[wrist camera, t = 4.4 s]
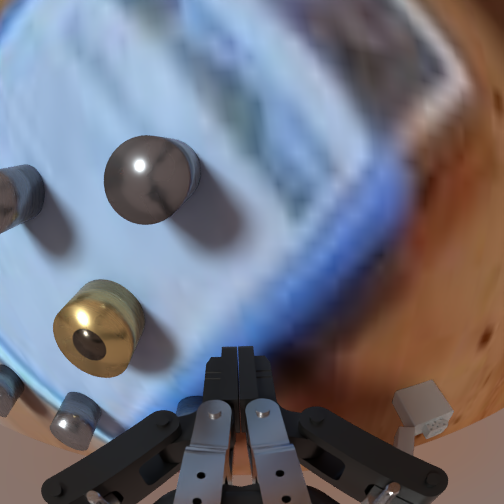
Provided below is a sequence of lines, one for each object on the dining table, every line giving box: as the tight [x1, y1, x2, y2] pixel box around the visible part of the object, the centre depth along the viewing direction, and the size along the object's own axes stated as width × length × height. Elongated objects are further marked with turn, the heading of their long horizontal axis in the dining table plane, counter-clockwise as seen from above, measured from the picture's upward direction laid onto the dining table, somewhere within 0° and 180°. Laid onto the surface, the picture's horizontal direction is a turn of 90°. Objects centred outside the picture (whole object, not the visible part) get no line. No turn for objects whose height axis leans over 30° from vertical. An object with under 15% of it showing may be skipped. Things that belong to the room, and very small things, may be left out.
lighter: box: [392, 380, 454, 456], centre depth 18 cm, size 7×2×8 cm, turn 95°
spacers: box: [0, 135, 203, 451], centre depth 16 cm, size 24×22×4 cm
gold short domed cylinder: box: [53, 279, 145, 378], centre depth 16 cm, size 5×5×4 cm
